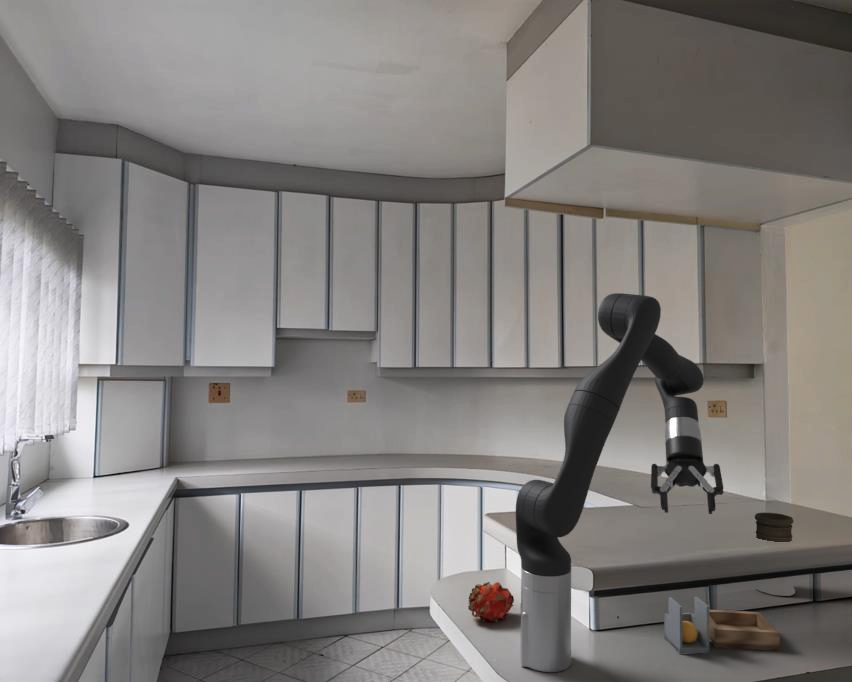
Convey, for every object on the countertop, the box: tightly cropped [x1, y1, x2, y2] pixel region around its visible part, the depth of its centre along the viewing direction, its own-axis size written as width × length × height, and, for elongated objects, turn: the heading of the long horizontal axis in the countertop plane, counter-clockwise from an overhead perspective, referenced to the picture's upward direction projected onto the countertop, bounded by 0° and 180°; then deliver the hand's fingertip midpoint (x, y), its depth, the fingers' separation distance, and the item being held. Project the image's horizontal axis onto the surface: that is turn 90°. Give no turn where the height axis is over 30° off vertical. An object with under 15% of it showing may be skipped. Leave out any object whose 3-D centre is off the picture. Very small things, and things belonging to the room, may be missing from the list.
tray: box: [709, 609, 781, 652], centre depth 132 cm, size 12×10×4 cm
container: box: [754, 512, 794, 542], centre depth 158 cm, size 9×9×18 cm
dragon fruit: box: [467, 581, 515, 623], centre depth 141 cm, size 8×8×12 cm
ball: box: [682, 621, 698, 643], centre depth 128 cm, size 4×4×4 cm
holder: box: [663, 596, 710, 655], centre depth 128 cm, size 7×6×9 cm
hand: (688, 512), depth 135 cm, fingers open, 8 cm apart
